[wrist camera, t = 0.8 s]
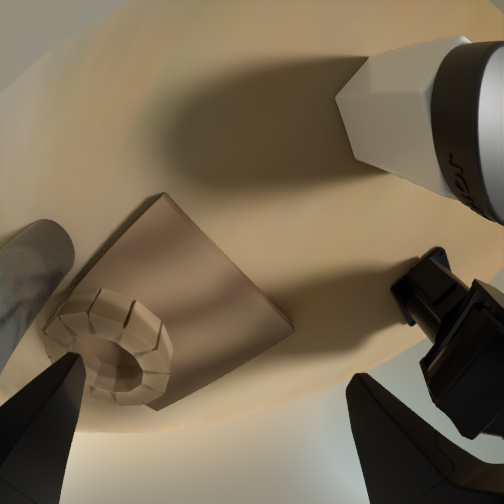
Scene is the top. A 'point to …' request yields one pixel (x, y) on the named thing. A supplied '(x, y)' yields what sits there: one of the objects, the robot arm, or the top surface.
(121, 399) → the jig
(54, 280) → the chrome metal cylinder
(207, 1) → the top surface
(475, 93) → the jar
